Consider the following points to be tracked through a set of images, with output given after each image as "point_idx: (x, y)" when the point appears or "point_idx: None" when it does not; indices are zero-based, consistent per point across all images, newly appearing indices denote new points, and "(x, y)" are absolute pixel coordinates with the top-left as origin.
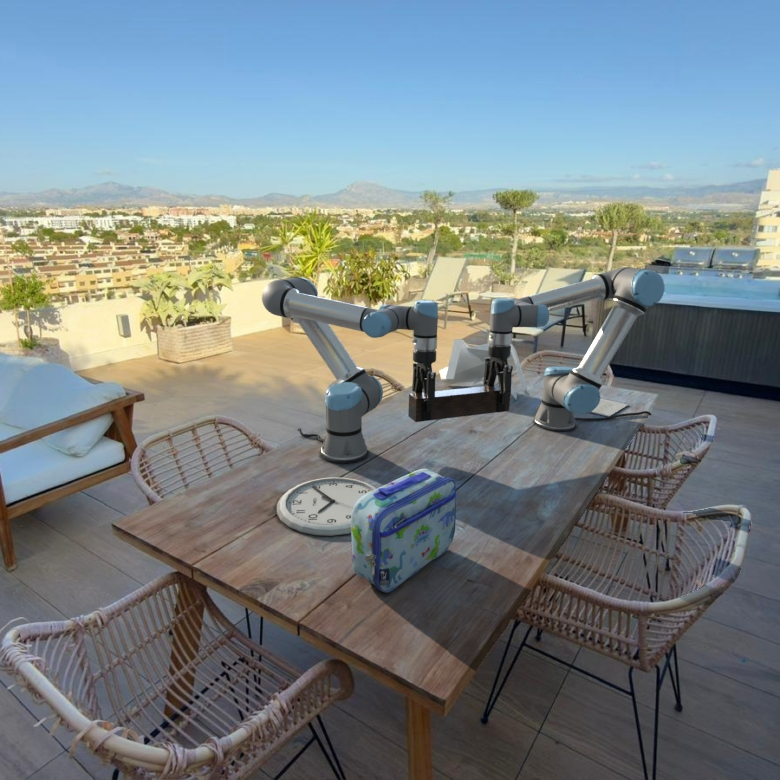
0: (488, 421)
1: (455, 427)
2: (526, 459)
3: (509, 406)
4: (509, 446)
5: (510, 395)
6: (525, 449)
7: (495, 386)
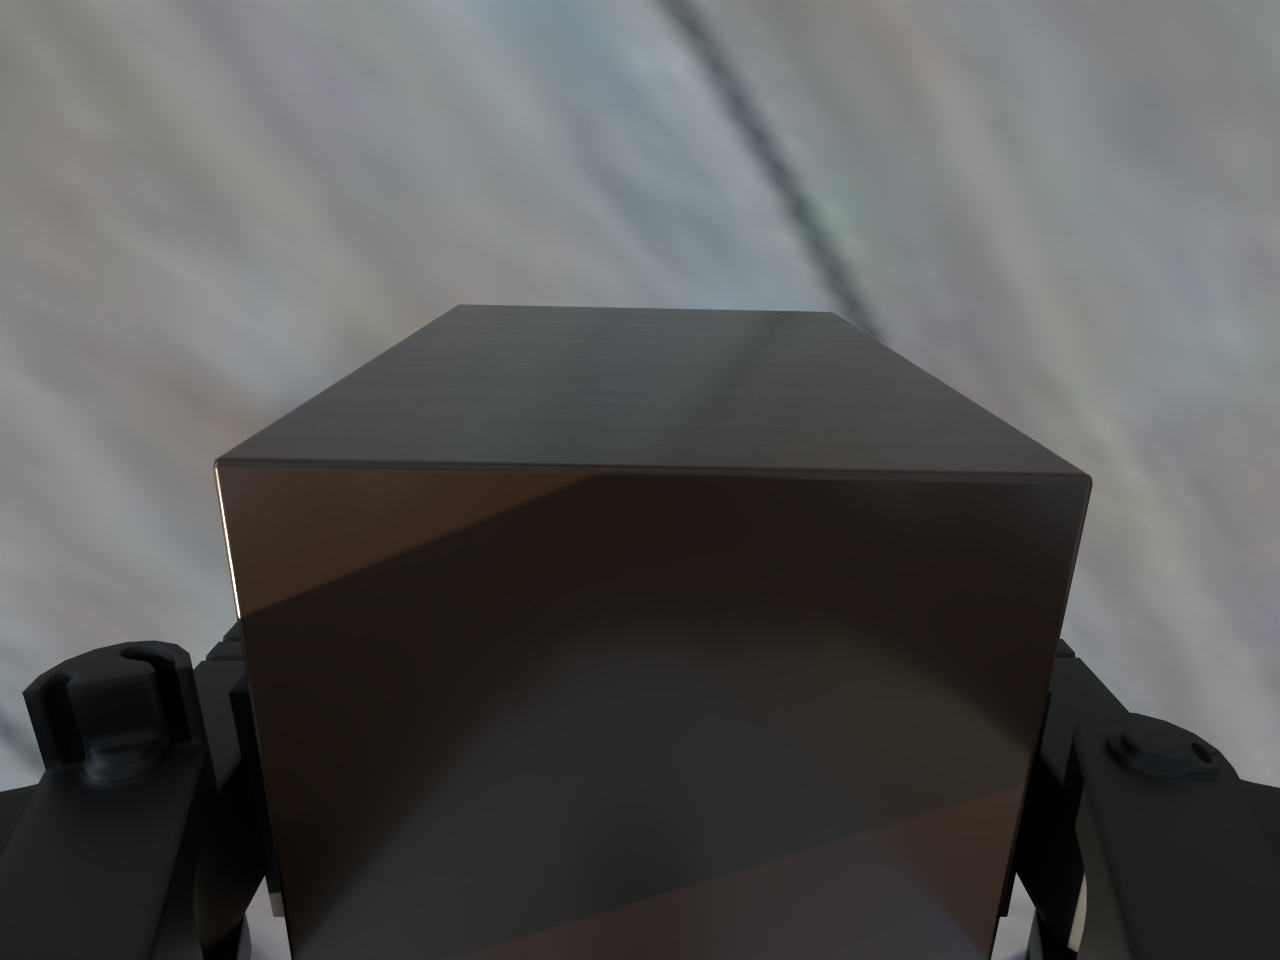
0: (7, 45)
1: (164, 565)
2: (1224, 324)
3: (862, 331)
4: (861, 292)
5: (972, 403)
6: (1019, 158)
7: (450, 869)
